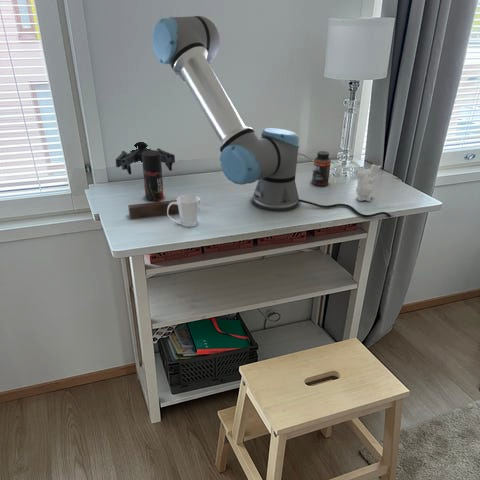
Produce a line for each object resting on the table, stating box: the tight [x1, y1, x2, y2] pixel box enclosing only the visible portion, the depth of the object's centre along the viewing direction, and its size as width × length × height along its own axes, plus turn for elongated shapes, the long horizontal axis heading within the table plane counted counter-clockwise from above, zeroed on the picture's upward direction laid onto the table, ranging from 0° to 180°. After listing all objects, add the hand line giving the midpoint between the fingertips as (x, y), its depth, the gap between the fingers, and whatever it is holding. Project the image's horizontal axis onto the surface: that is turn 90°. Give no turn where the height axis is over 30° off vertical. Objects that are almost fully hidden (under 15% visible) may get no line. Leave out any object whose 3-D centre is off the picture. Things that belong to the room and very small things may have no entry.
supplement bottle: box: [311, 150, 332, 187], centre depth 175 cm, size 6×6×11 cm
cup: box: [166, 193, 201, 228], centre depth 145 cm, size 7×10×8 cm
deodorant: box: [141, 149, 164, 203], centre depth 158 cm, size 6×6×15 cm
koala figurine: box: [355, 164, 382, 202], centre depth 164 cm, size 8×7×12 cm
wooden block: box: [127, 199, 179, 220], centre depth 152 cm, size 21×2×4 cm, turn 110°
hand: (150, 168), depth 160 cm, fingers open, 13 cm apart
